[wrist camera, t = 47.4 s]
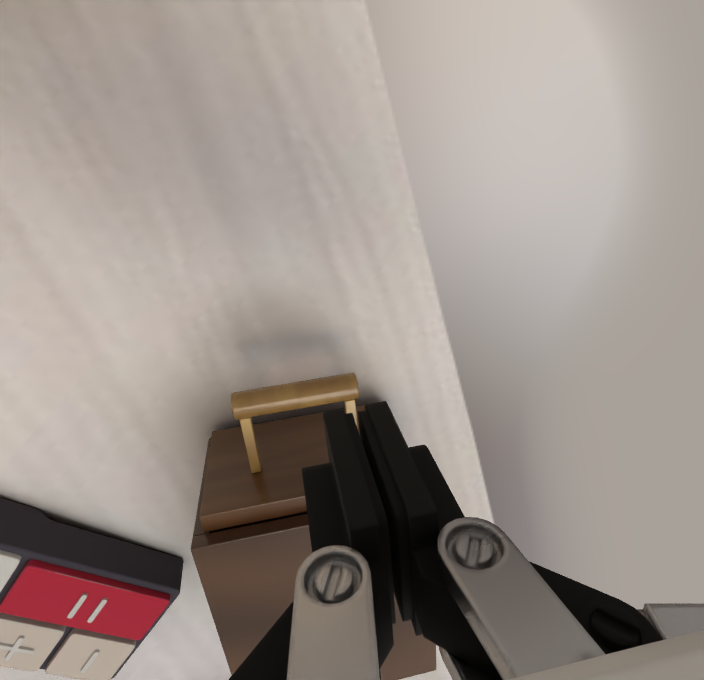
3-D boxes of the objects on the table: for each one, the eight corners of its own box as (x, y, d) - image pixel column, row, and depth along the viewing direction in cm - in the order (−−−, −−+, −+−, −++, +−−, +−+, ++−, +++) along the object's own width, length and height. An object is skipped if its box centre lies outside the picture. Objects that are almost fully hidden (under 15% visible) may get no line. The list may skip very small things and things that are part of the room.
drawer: (194, 362, 30) (174, 434, 23) (379, 333, 31) (414, 392, 24) (250, 577, 38) (248, 680, 31) (393, 546, 40) (423, 637, 32)
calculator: (109, 692, 36) (-122, 656, 30) (121, 637, 40) (-82, 596, 34) (181, 601, 34) (-55, 542, 28) (186, 552, 38) (-20, 490, 31)
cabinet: (208, 439, 33) (190, 549, 24) (389, 406, 35) (433, 499, 26) (248, 589, 40) (245, 719, 31) (399, 556, 42) (436, 670, 33)
